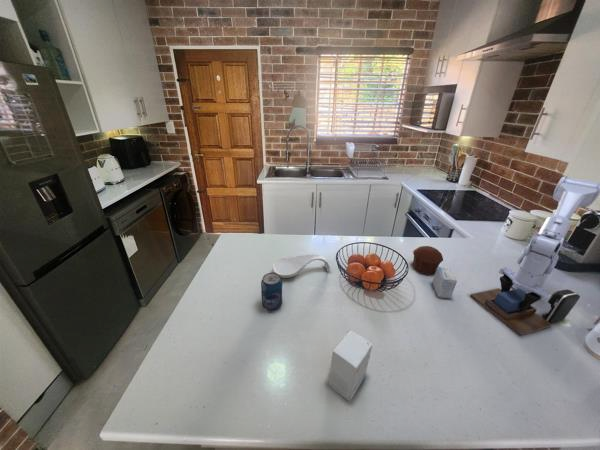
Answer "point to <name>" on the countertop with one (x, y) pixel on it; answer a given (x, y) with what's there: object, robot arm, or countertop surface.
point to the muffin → (426, 259)
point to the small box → (349, 364)
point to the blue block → (510, 300)
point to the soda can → (271, 292)
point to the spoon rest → (296, 264)
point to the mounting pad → (515, 321)
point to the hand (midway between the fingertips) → (512, 301)
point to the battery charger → (560, 305)
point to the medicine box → (444, 282)
